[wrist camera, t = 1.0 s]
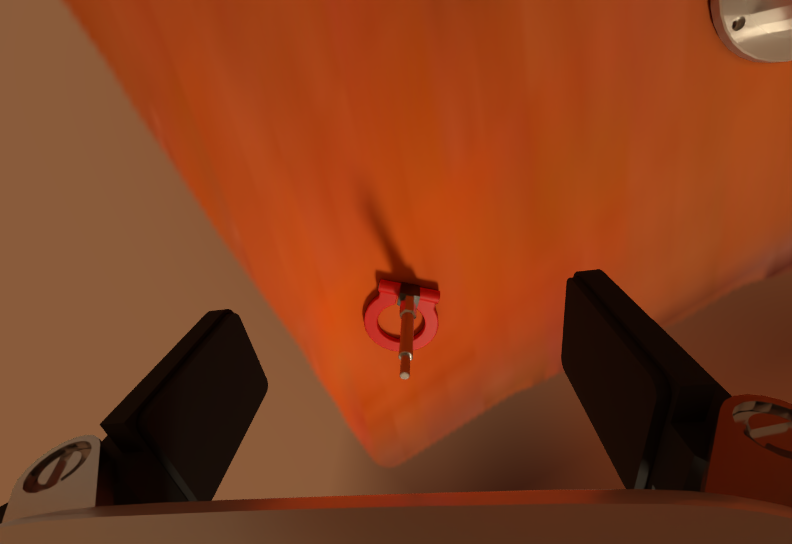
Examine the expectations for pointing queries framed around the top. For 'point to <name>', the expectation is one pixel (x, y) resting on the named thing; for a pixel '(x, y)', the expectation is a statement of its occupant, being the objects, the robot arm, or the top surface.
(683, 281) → the top surface
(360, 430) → the top surface
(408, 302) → the tow hook
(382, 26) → the top surface
